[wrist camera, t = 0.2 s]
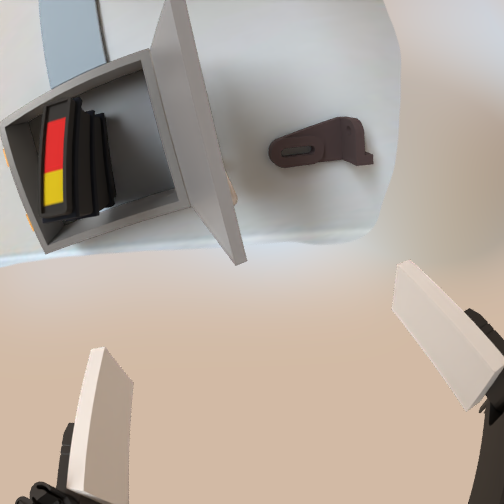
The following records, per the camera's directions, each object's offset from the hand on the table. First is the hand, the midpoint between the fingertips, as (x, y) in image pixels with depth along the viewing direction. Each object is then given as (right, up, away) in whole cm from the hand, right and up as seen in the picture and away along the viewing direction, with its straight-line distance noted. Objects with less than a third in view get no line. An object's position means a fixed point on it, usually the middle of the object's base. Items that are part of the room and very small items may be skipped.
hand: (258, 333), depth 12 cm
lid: (-6, +13, +8) cm, 16 cm away
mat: (-23, +31, +10) cm, 40 cm away
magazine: (-19, +16, +20) cm, 32 cm away
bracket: (+8, +18, +24) cm, 31 cm away
